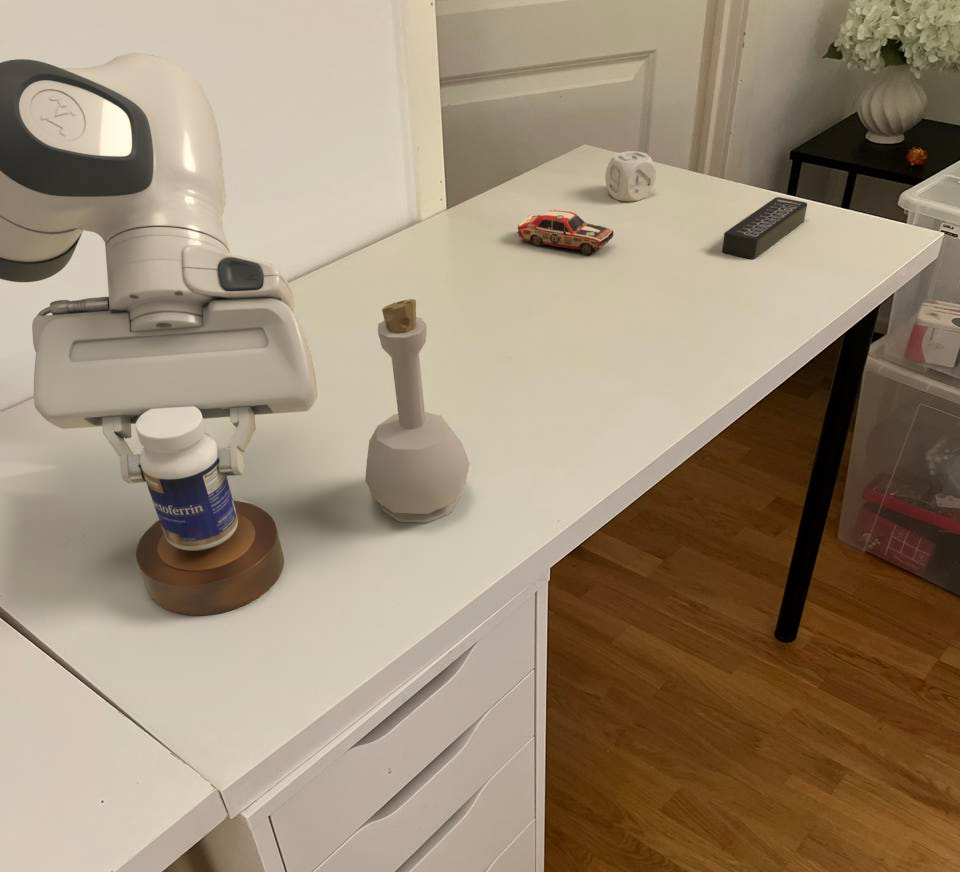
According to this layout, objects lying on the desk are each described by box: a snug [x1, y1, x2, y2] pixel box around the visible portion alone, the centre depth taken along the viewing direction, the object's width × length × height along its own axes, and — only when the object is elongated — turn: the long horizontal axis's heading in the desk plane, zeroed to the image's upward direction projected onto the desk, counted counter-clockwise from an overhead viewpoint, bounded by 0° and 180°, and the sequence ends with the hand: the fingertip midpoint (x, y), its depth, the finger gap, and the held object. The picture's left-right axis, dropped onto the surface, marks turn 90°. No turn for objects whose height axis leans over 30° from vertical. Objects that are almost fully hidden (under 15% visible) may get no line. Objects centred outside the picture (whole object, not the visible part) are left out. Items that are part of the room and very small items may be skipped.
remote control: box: [721, 196, 808, 260], centre depth 121 cm, size 4×14×2 cm, turn 142°
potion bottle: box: [364, 298, 470, 524], centre depth 78 cm, size 9×9×18 cm
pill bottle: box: [135, 406, 238, 551], centre depth 72 cm, size 6×6×10 cm
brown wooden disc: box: [135, 500, 285, 616], centre depth 77 cm, size 11×11×3 cm
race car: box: [517, 209, 614, 257], centre depth 122 cm, size 5×12×5 cm, turn 54°
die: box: [604, 150, 657, 203], centre depth 132 cm, size 5×5×5 cm
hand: (184, 477), depth 71 cm, fingers closed on pill bottle, 6 cm apart
